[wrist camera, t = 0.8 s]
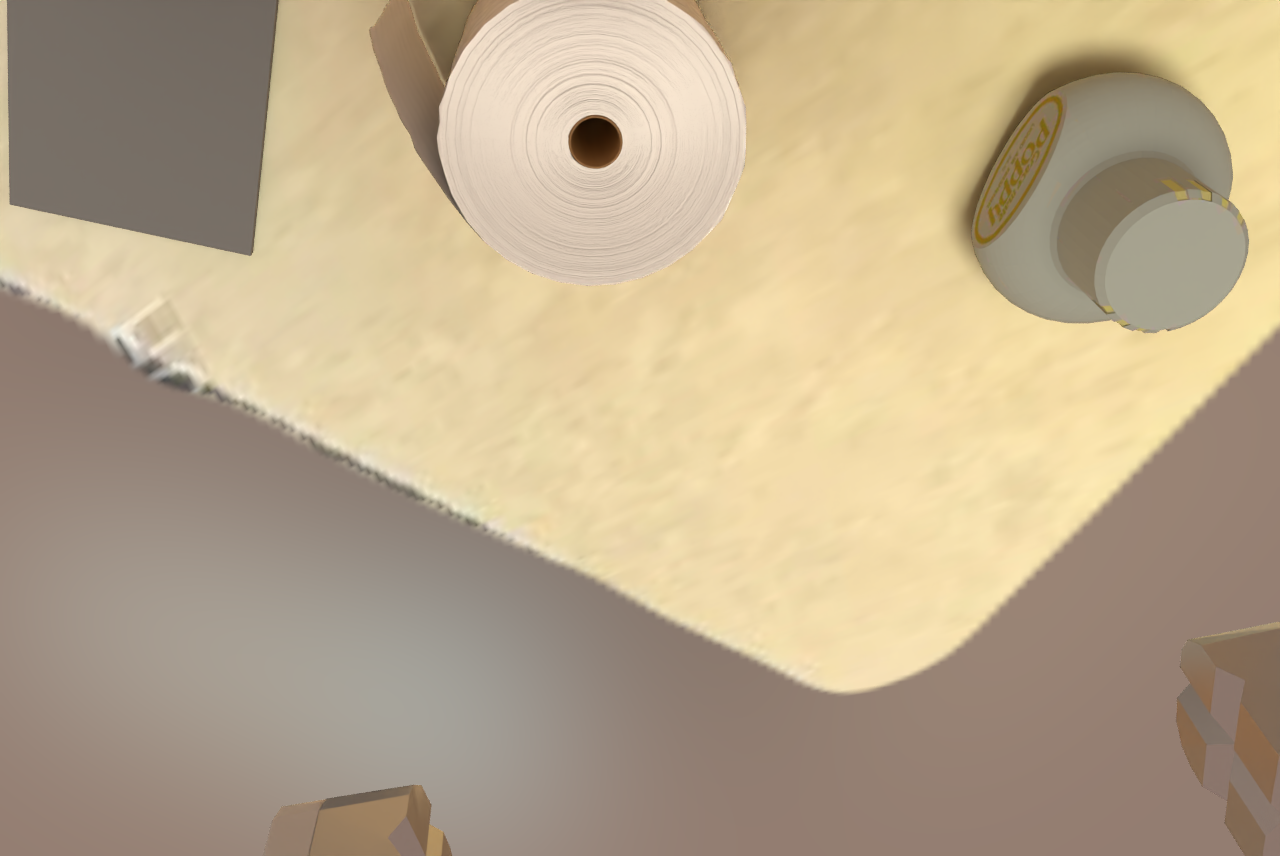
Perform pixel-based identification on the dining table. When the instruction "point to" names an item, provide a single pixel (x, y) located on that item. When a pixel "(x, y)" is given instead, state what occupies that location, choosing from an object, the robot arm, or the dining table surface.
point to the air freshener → (1113, 207)
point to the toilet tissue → (575, 129)
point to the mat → (142, 113)
